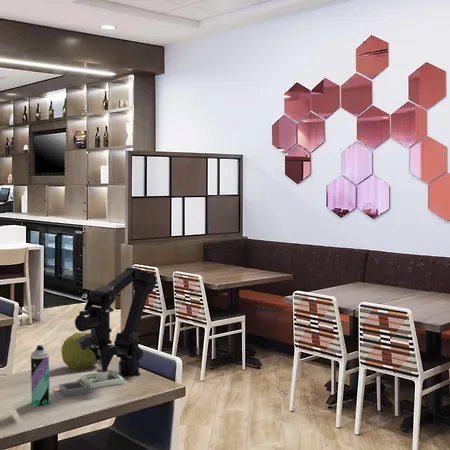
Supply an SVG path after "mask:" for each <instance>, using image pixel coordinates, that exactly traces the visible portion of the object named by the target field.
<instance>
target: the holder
mask: <svg viewBox="0 0 450 450" xmlns="http://www.w3.org/2000/svg"><path fill="white" fill-rule="evenodd" d="M51 391H52V392H53V394H54V395H55V396H56V397H57V399H58V400H62V399H67V398H76V397H81V396H89V395H95V394H96V393H95V392H94V390H92V388H89V387H88V386H87V385H86V384H85V383H84V382H83V381H82V380H81V381H80V380H79V381H74V382H67V383H66V382H65V383H59V388H55V389H52V390H51Z"/></svg>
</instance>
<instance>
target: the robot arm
mask: <svg viewBox="0 0 450 450" xmlns="http://www.w3.org/2000/svg"><path fill="white" fill-rule="evenodd" d="M157 279H158V278H157V276H156V274H155V273H154V272H151V271H144V270H141V269H139V268H137V267H126V268H125V269H124V271H123V272H121V273H120V274H119V275H118V276H116V277H115V278H114V279H113V280H111V281H110V282H108V284H106V285H103V286H99V287H97V288H95V289H93V290H91V292H90V295H89V297H88V299H87V301H86V304H85V306H84V307H83V310H79V314H78V315H76V317H75V320H74V325H75V328H76V329H77V330H78V331H79V332H80V333H84V332H86V331H90V333H89V332H88V333H89V334H87V335H84V336H82V337H80V338H78V339H77V340H76V341H77V343H78V346H79V348H80V349H81V350H85V349H86V348H88V347H89V349H91V350H92V351H93V352H94V355H95V358H96V362H97V360H98V359H101V366H102V371H103V372H106V370H107V368H108V369H109V365H110V364H111V361H112V359H113V357H114V356H116V358H119V361H118V374H119V375H120V376H121V377H122V378H127V377H133V376H139V375H140V376H141V372H140V360H141V359H142V358H143V355H144V351H143V350H142V349H141V347H139V342H140V340H139V337H138V336H139V335H138V331H139V327H140V323H141V320H142V316H143V313H144V309H145V306H146V301H147V300H148V299H147V298H148V296H149V295H150V294H151V293H152V292H153V291H154V289H155V286H156V284H157V281H158V280H157ZM131 283H132V287H133V288H132V289H133V291H134V292H133V293H134V294H133V297H132V300H131V304H130V307H129V311H128V314H127V318H126V321H125V325H124V328H123V330H122V331H121V332H117V333H116V334H115V340H114V341H113V342H112V340H111V333H112V332H113V331H112V328H110V327H111V326H110V324H111V323H110V317H111V315H110V313H111V312H114V311H115V310H114V308H113V307H111V306H112V304H113V303H114V302H115V300H116V297H117V295H119V294H120V293H121V292H122V291H123V290H125V288H126V287H128V286H129V285H130V284H131ZM90 346H91V347H90Z"/></svg>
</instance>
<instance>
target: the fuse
mask: <svg viewBox="0 0 450 450" xmlns="http://www.w3.org/2000/svg"><path fill="white" fill-rule="evenodd" d="M108 370H109V367H108V368H107V370H106V372H103V371H102V366H101V359H98V360H97V364H96V371H95V372H97V375H96V377H95V378H96V379H95V380H96V381H95V382H99V381H106V380H109V375H108Z"/></svg>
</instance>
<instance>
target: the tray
mask: <svg viewBox="0 0 450 450" xmlns="http://www.w3.org/2000/svg"><path fill="white" fill-rule="evenodd" d="M96 375H97V371H95V372H93V371H92V372H87V373H80V379H81V382H82V383H83V384H84V385H87V386H88V387H89V388H90V389H94V388H95V389H96V388H101V387H107V386H115V385H123V384H125V377H123V376H122V375H121V374H120V373H119V372H117V371H115V370H114V369H108V376H112V377H113V379H108V380H106V381H99V382H96V381H94V382H93V381H91V380H90V379H93V378H94V379H95V378H96ZM114 378H115V379H114Z"/></svg>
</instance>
